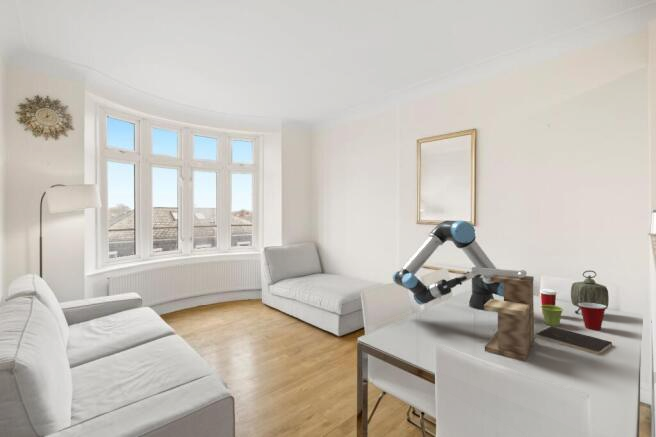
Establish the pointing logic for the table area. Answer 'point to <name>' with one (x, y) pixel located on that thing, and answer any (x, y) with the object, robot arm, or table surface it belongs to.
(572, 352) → the table surface
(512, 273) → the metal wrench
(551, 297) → the paper cup
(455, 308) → the table surface
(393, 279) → the robot arm
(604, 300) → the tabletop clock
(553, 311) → the plant pot
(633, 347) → the table surface
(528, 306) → the step stand
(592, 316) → the plastic cup
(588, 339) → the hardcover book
